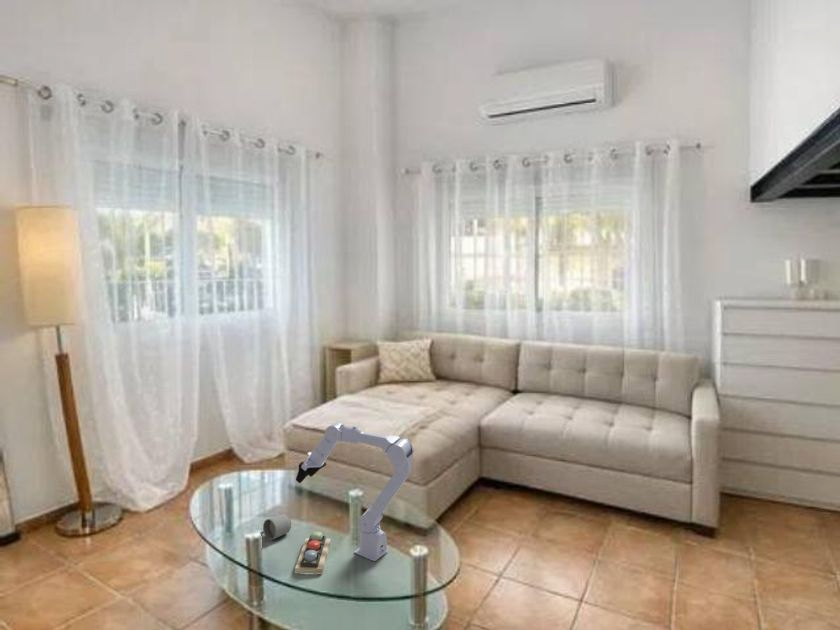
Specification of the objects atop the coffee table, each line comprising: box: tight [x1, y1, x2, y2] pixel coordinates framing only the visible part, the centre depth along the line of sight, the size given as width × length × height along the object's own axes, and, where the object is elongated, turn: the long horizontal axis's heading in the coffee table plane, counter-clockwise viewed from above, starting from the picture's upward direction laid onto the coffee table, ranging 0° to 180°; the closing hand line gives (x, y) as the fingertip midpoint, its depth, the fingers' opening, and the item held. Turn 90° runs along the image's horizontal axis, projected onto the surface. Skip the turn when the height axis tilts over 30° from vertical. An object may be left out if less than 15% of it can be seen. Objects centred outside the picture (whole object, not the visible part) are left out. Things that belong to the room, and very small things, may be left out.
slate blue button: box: [305, 550, 317, 562], centre depth 178 cm, size 4×4×2 cm
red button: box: [308, 540, 320, 551], centre depth 185 cm, size 4×4×2 cm
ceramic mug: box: [262, 514, 292, 541], centre depth 200 cm, size 11×8×8 cm
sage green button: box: [310, 531, 324, 542], centre depth 191 cm, size 4×4×2 cm
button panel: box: [294, 534, 331, 575], centre depth 185 cm, size 20×9×3 cm, turn 2°
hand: (303, 478), depth 196 cm, fingers open, 7 cm apart
